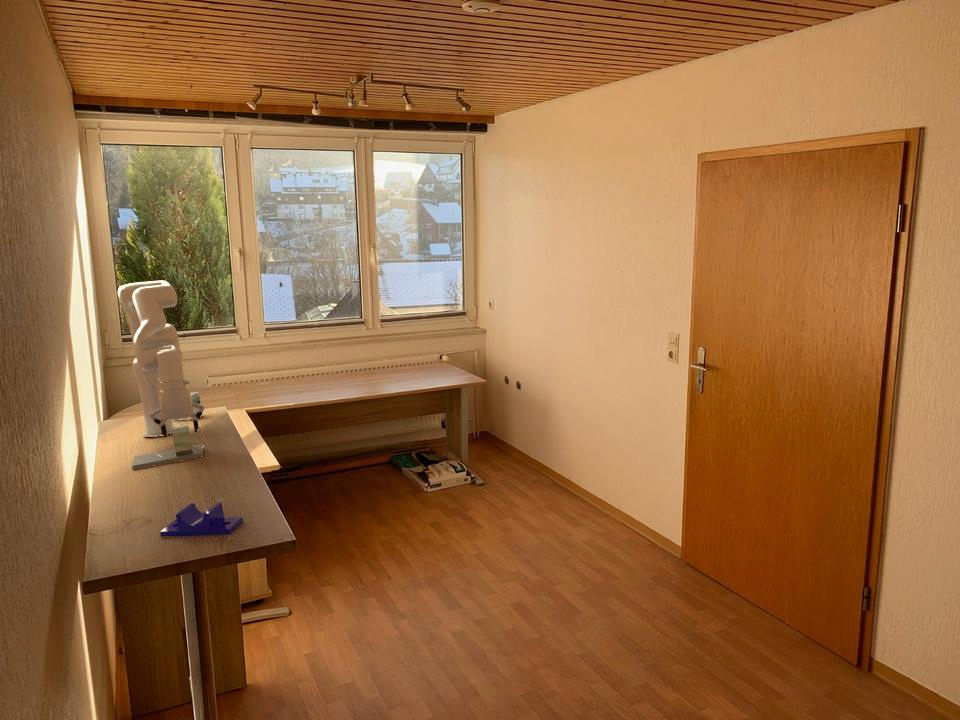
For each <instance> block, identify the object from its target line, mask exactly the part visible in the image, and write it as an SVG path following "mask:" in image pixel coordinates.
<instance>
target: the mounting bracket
mask: <svg viewBox="0 0 960 720" xmlns="http://www.w3.org/2000/svg"><path fill="white" fill-rule="evenodd" d="M243 519H244V518H243V517H242V516H235V517H234V516H233V517H225V514H224V508H223V502H222V501H219V502H218V501H217V502H216V503H215V504H213V505H212V506H211V507H210V508H209V509H208V510H206V511H204V512H201V511H200V510H199V509H198V508H197V506H196V503H194V502H193V503H189V504H188V505H187V506H185V507H184V508H183V509H181V510H180V511H179V512H177V513H176V514H175V519H174V520H173V521H172V522H170V523H169V524H168V525H167V526H166V527H164V528H162V530H161V531H159V534H160V537H161V536H174V537H193V536H199V537H200V536H221V535H231V534H232V533H233V532H235V531H236V530H237V528H239V527H240V526H241V525H242V524H243V523H244V520H243Z"/></svg>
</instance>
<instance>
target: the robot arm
mask: <svg viewBox="0 0 960 720" xmlns="http://www.w3.org/2000/svg"><path fill="white" fill-rule="evenodd" d="M117 296H118V301H119V302H120V304H121V306H122V308H123V309H124V311H125V314H126V315H127V317H128V320H129V321H128V322H129V327H130V328H129V329H130V334H131V340H132V348H133V353H134V356H135V358H134V359H133V361H132V370H133V373H134V376H135V378H136V382H137V386H138V389H139V390H138V391H139V395H140V400H141V407H142V412H143V418H144V423H145V429H146V430H145V431H144V432H143V433H142V438H145V437H155V436H160V435H164V436H163V437H164V438H167V437H168V435H167V434H170V433H172V432H173V428H174V427H175V426H174V425H173V421H172V419H177V418H184V417H189V416H190V417H191V418H193V419H194V420H192V422H193V423H192V424H193V429H194V430H193V431H194V433H198V430H199V427H200V426H199V421H198V420H199V419H200V418H201V417H200V416H201V415H202V413H203V412H204V410H205V406H204V405H202V404H201V405H199V404H196V403H192V399H191V394H190V393H191V391H190V389H189V386H187V385H190V383H191V382H190V379H186V378H185V376H184V369H183V354H182V353H183V352H182V350H181V347H180V346H181V345H180V341H179V336H178V332H177V329H176V327H175V326H174V325H173V324H170V323H167V322H168V321H167V317H166V315H165V313H164V309H169V308H174V307H175V306H177V304H178V296H177V292H176V290H175V288H174V286H173V285H172V284H171V283H170V282H167V280H153V281H152V280H151V281H140V282H139V281H138V282H133V283H132V282H131V283H127V284H123V285H120V286H119V288H118V290H117ZM158 379H159V380H158ZM193 407H195V408H198V409H200V410H199V412H198V413H197V415H195V414H194V413H193V411H194V410H193ZM170 435H171V434H170Z"/></svg>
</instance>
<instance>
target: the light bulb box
mask: <svg viewBox="0 0 960 720" xmlns="http://www.w3.org/2000/svg"><path fill="white" fill-rule="evenodd" d="M190 394H191V399H192V403H196V404H199V405H202V402H201V397H200V392H199V391H195V392H194V391H193V392H190ZM193 410H194V411H193V413H194V414H195V415H197V413H198V412H199V410H200V409H198V408H195V407H193ZM188 418H191V417H190V416H189V417H184V418H177V419H172V420H179V419H188Z"/></svg>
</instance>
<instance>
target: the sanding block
mask: <svg viewBox="0 0 960 720" xmlns="http://www.w3.org/2000/svg"><path fill="white" fill-rule="evenodd" d="M171 435H172V439H173V445H174V449H175V452H176V456H181V455H187V454H192V446H193V445H192V440H191V433H190V427H189V424H188V425H183V426H181V425H180V426H174V428H173V432H172V434H171Z"/></svg>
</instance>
